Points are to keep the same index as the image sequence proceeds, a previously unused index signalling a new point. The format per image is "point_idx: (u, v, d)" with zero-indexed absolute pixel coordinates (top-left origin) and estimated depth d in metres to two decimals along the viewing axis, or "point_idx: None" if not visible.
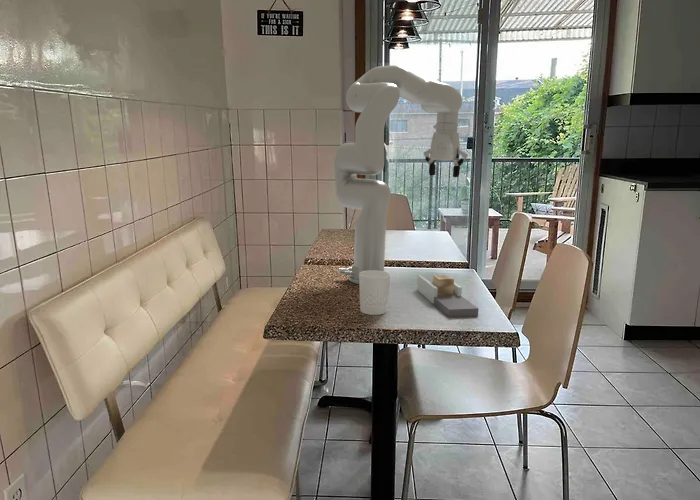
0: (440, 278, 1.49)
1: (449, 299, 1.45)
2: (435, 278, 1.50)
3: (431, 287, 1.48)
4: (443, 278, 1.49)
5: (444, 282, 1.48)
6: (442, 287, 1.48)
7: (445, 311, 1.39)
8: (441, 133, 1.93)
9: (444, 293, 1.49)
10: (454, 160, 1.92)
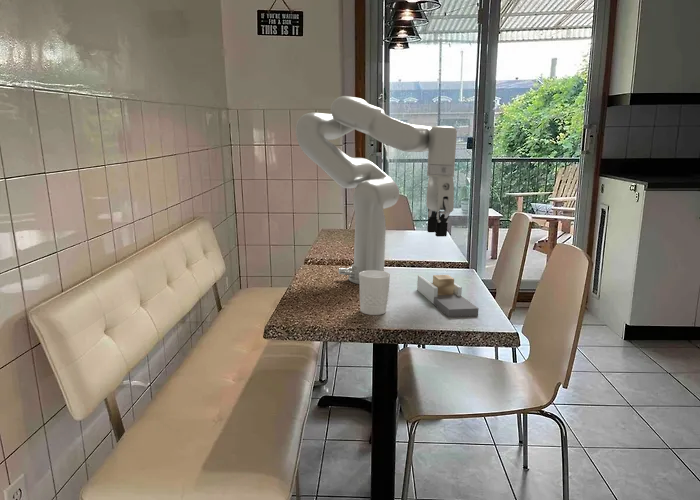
0: (440, 278, 1.49)
1: (449, 299, 1.45)
2: (435, 278, 1.50)
3: (431, 287, 1.48)
4: (443, 278, 1.49)
5: (444, 282, 1.48)
6: (442, 287, 1.48)
7: (445, 311, 1.39)
8: None
9: (444, 293, 1.49)
10: None
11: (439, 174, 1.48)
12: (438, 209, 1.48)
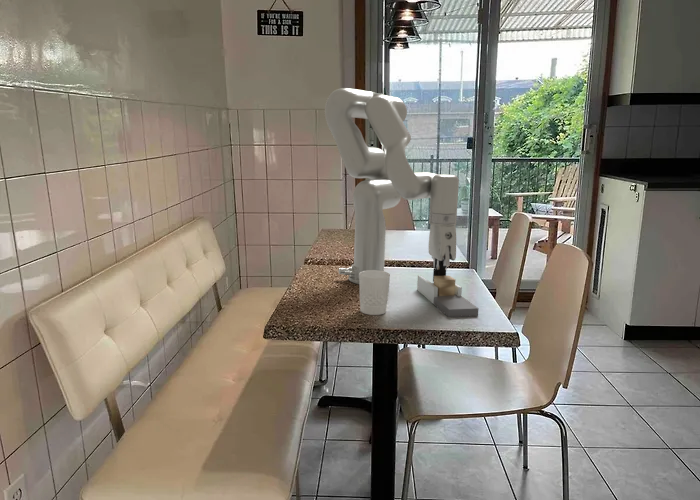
0: (441, 279, 1.48)
1: (449, 299, 1.45)
2: (436, 279, 1.49)
3: (431, 287, 1.48)
4: (444, 279, 1.48)
5: (445, 283, 1.47)
6: (443, 288, 1.47)
7: (445, 311, 1.39)
8: None
9: (445, 294, 1.48)
10: None
11: (441, 223, 1.47)
12: (441, 258, 1.47)
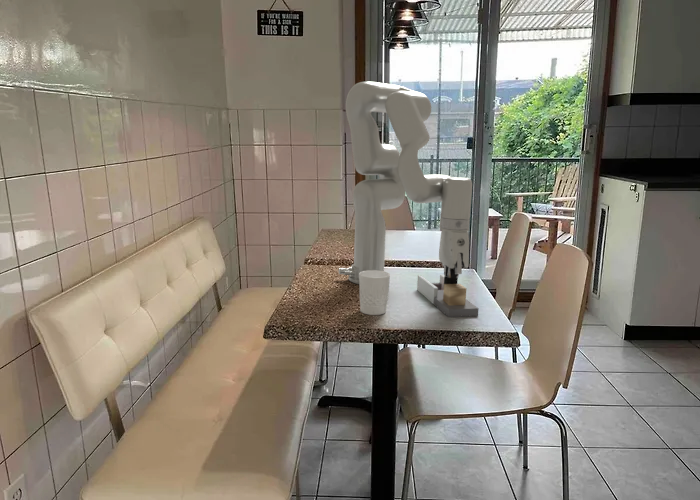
0: (451, 287, 1.39)
1: None
2: (446, 287, 1.41)
3: (431, 287, 1.48)
4: (454, 287, 1.40)
5: (455, 292, 1.39)
6: (453, 297, 1.39)
7: (445, 311, 1.39)
8: None
9: (455, 303, 1.40)
10: None
11: (453, 229, 1.39)
12: (452, 266, 1.39)
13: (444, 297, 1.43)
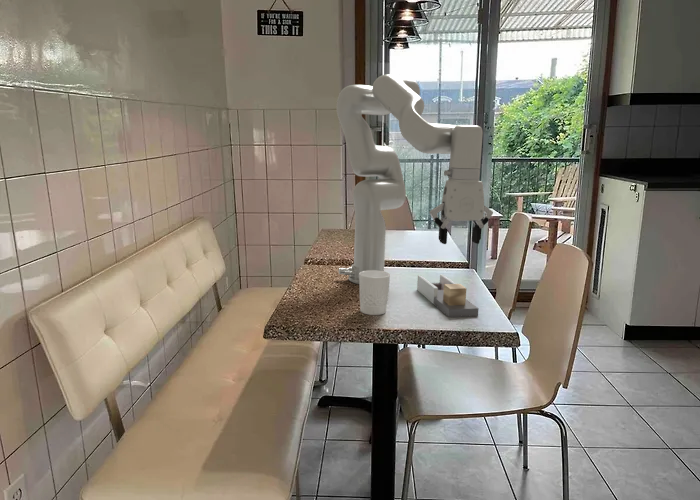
0: (451, 287, 1.40)
1: None
2: (446, 287, 1.41)
3: (431, 287, 1.48)
4: (454, 287, 1.40)
5: (455, 292, 1.39)
6: (453, 297, 1.39)
7: (445, 311, 1.39)
8: (465, 183, 1.33)
9: (455, 303, 1.40)
10: (479, 220, 1.37)
11: (448, 177, 1.36)
12: None
13: (444, 297, 1.43)
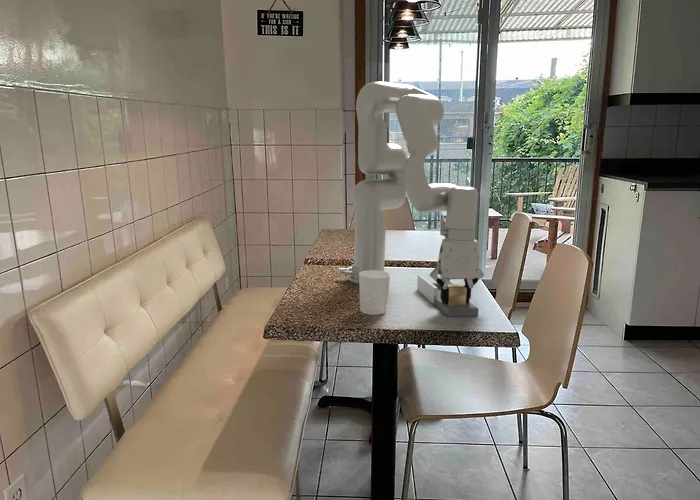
0: (452, 287, 1.40)
1: None
2: None
3: (431, 287, 1.48)
4: (455, 287, 1.40)
5: (456, 292, 1.39)
6: (453, 297, 1.39)
7: (445, 311, 1.39)
8: (461, 243, 1.36)
9: (456, 303, 1.40)
10: (470, 280, 1.40)
11: (445, 236, 1.40)
12: None
13: None
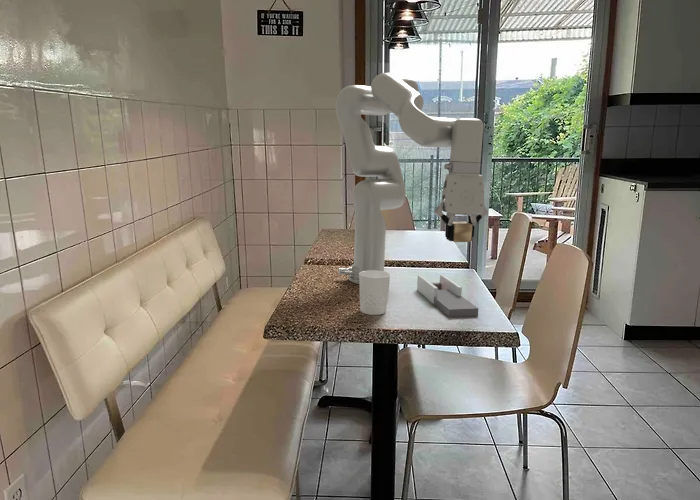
0: (457, 224, 1.36)
1: (449, 299, 1.45)
2: None
3: (431, 287, 1.48)
4: (460, 224, 1.36)
5: (461, 228, 1.36)
6: (459, 234, 1.36)
7: (445, 311, 1.39)
8: (465, 177, 1.33)
9: (461, 240, 1.37)
10: (474, 217, 1.37)
11: (449, 171, 1.36)
12: None
13: None
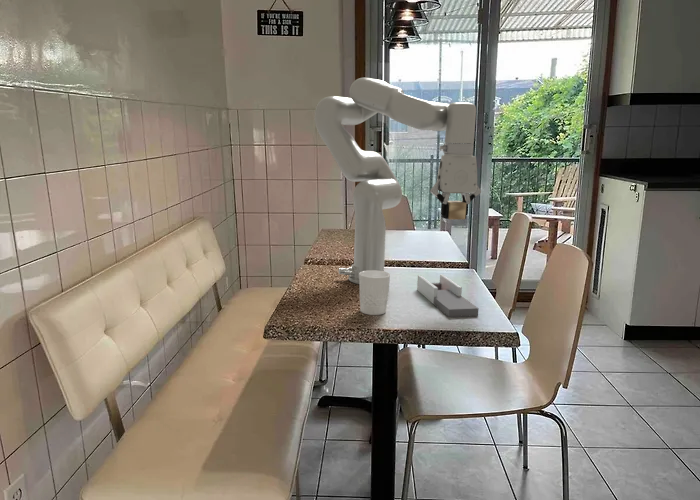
0: (452, 202, 1.45)
1: (449, 299, 1.45)
2: None
3: (431, 287, 1.48)
4: (455, 202, 1.45)
5: (456, 206, 1.44)
6: (453, 211, 1.44)
7: (445, 311, 1.39)
8: (459, 157, 1.41)
9: (456, 218, 1.45)
10: (467, 196, 1.45)
11: (444, 152, 1.45)
12: None
13: None
